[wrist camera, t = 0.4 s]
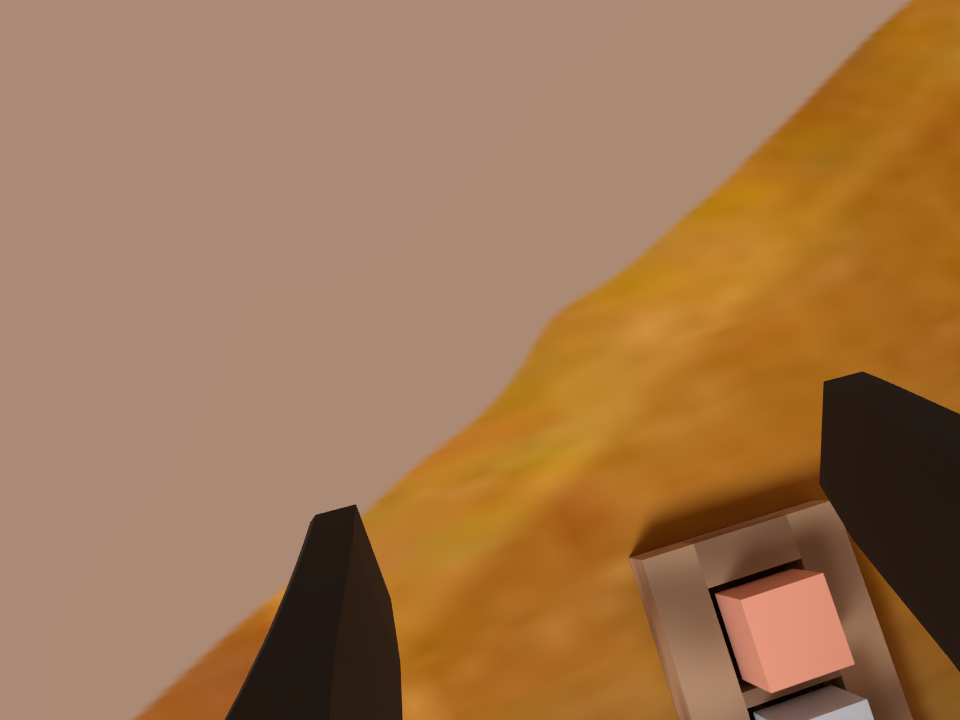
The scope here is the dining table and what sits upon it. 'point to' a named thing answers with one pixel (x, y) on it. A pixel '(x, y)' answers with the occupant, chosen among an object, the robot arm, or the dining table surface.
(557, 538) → the dining table surface
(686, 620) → the walnut bezel
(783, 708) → the slate key
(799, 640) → the brick key
